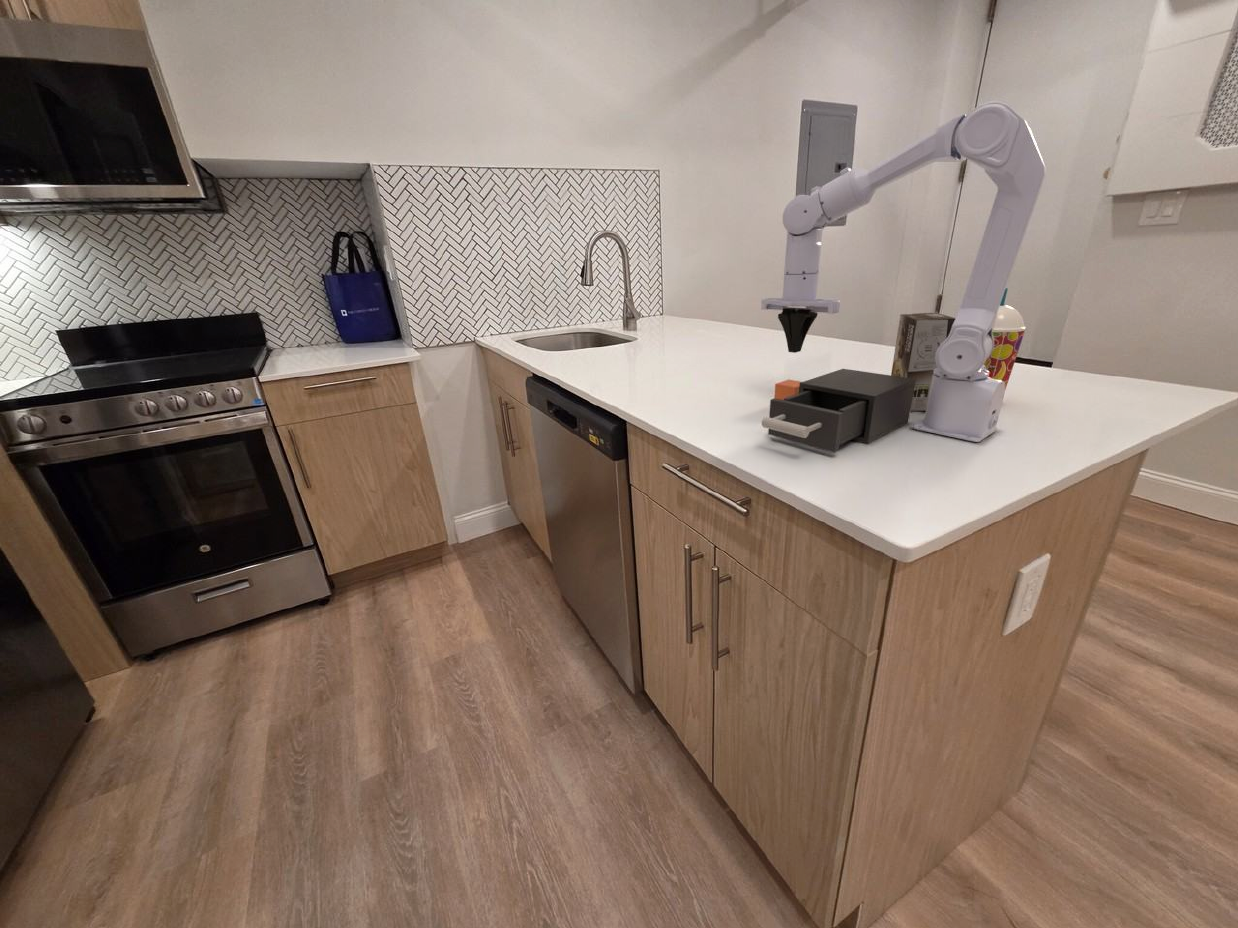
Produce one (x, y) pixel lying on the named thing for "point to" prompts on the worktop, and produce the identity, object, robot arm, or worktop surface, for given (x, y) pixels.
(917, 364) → the coffee box
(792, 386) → the block
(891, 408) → the dark drawer unit
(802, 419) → the open pull-out drawer
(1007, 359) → the smoothie
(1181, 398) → the worktop surface
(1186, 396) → the worktop surface
